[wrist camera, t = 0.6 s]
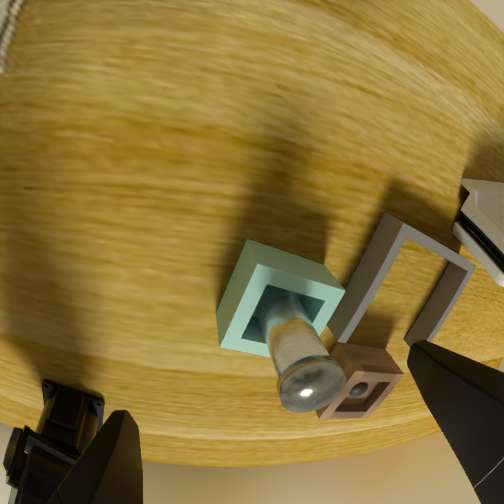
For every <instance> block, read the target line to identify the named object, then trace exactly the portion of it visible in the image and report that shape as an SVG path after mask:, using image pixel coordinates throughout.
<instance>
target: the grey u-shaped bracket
mask: <svg viewBox="0 0 504 504" xmlns="http://www.w3.org/2000/svg"><path fill="white" fill-rule="evenodd" d="M405 238H408V239H410V240H412V241H414V242H416V243H418V244H420V245H422V246H424V247H425V248H427V249H429V250H431V251H433V252H435V253H437V254H438V255H440V256H442V257H444V258H446V259H447V260H449V261H450V262H449V264H448V266H447V268H446V270H445V272H444V274H443V275H442V277H441V279H440V281H439V283H438V285H437V286H436V288H435V290H434V292H433V293H432V295H431V297H430V298H429V300H428V302H427V304H426V305H425V307H424V308H423V310H422V312H421V313H420V315H419V317H418V318H417V320H416V321H415V323H414V324H413V326H412V328H411V329H410V331H409V332H408V334H407V335H406V337H405V338H404V341H405V342H406V343H407V344H408V345H409V347H411V344H412V343H414V342H416V341H418V340H421V339H423V340H426V341H429V342H431V341H432V339H433V338H434V336H435V335H436V333H437V332H438V330H439V329H440V327H441V326H442V324H443V323H444V321H445V319H446V318H447V316H448V315H449V313H450V311H451V310H452V308H453V306H454V305H455V303H456V301H457V300H458V298H459V296H460V294H461V293H462V291H463V289H464V287H465V286H466V284H467V282H468V280H469V278H470V276H471V274H472V272H473V271H474V269H475V267H476V265H474V264H473V263H471V262H470V261H468V260H466V259H465V258H463V257H462V256H460V255H459V254H457V253H455V252H454V251H452V250H451V249H449V248H447V247H446V246H444V245H442V244H441V243H439V242H437V241H435V240H434V239H432V238H430V237H429V236H427V235H425V234H423V233H422V232H420V231H418V230H416V229H415V228H413V227H411V226H409V225H407V224H406V223H404V222H402V221H400V220H398V219H396V218H394V217H393V216H391V215H389V214H387V213H385V212H384V214H383V216H382V218H381V220H380V223H379V225H378V227H377V229H376V231H375V233H374V235H373V237H372V239H371V241H370V243H369V245H368V247H367V249H366V251H365V253H364V255H363V257H362V259H361V261H360V262H359V264H358V266H357V268H356V270H355V272H354V274H353V276H352V277H351V279H350V281H349V283H348V285H347V287H346V288H345V293H344V295H343V297H342V298H341V300H340V302H339V304H338V305H337V307H336V309H335V311H334V312H333V314H332V316H331V317H330V319H329V321H328V322H327V326H328V327H329V329H330V330H331V332H332V334H333V335H334V337H335V339H336V340H337V342H342V343H346V342H347V340H348V339H349V337H350V336H351V334H352V332H353V331H354V329H355V328H356V326H357V324H358V323H359V321H360V320H361V318H362V316H363V315H364V313H365V311H366V310H367V308H368V306H369V305H370V303H371V301H372V300H373V298H374V296H375V294H376V293H377V291H378V289H379V287H380V286H381V284H382V282H383V280H384V278H385V277H386V275H387V273H388V271H389V269H390V267H391V266H392V264H393V262H394V260H395V258H396V256H397V254H398V252H399V250H400V248H401V246H402V244H403V242H404V240H405Z"/></svg>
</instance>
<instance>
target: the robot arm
mask: <svg viewBox="0 0 504 504" xmlns="http://www.w3.org/2000/svg"><path fill="white" fill-rule="evenodd" d="M407 365H408V368H409V370H410V372H411V374H412V376H413V378H414V380H415V383H416V385H417V387H418V389H419V391H420V393H421V395H422V397H423V399H424V401H425V403H426V405H427V407H428V408H429V410H430V412H431V413H432V415H433V417H434V418H435V420H436V422H437V423H438V425H439V427H440V429H441V430H442V432H443V434H444V435H445V437H446V439H447V440H448V442H449V444H450V446H451V447H452V449H453V451H454V453H455V455H456V456H457V458H458V460H459V461H460V464H461V466H462V467H463V469H464V471H465V473H466V475H467V477H468V479H469V481H470V482H471V484H472V486H473V488H474V491H475V492H476V494H477V496H478V498H479V500H480V502H481V504H504V373H503V372H501V371H499V370H496V369H494V368H491V367H489V366H486V365H484V364H482V363H479V362H477V361H474V360H472V359H469V358H467V357H465V356H462V355H460V354H457V353H455V352H453V351H450V350H448V349H445V348H443V347H441V346H438V345H436V344H433V343H431V342H429V341H426V340H423V339H421V340H418V341H416V342H414V343H412V344H411V347H410V351H409V355H408V359H407ZM42 391H43V399H44V409H43V412H42V414H41V417H40V420H39V423H38V426H37V429H36V432H34V431H33V430H31V429H30V427H28V426H26V425H25V426H24V428H23V429H21V428H16V427H14V429H13V431H12V434H11V437H10V440H9V443H8V446H7V449H6V453H5V457H4V461H3V465H4V468H5V470H6V476H7V478H6V484H8V485H10V486H11V487H12V488H11V492H10V497H9V501H8V504H143V469H142V459H141V449H140V438H139V429H138V426H137V424H136V422H135V421H134V419H133V418H132V416H131V415H130V413H129V412H128V411H127V410H115V411H113V412H112V413H111V415H110V416H109V418H108V419H107V420H106V422H105V423H104V424H103V415H104V405H105V402H104V400H103V399H101V398H98V397H94V396H91V395H88V394H85V393H82V392H79V391H76V390H73V389H71V388H68V387H65V386H62V385H60V384H57V383H54V382H52V381H49V380H46V379H44V380H43V382H42ZM24 451H26V452H27V453H28V454H27V453H25V452H24Z"/></svg>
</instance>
